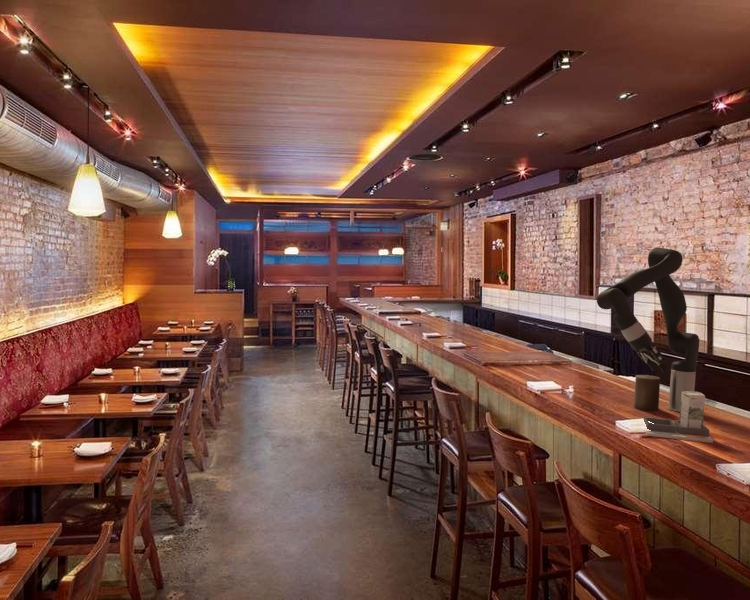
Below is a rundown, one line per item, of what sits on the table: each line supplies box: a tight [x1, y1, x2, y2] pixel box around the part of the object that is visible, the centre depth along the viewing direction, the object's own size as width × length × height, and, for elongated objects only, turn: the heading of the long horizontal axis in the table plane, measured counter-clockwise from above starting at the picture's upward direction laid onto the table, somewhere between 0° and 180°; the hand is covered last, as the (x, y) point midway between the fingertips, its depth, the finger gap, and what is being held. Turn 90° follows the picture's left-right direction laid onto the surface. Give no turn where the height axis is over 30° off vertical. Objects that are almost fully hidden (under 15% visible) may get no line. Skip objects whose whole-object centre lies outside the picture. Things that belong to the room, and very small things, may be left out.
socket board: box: [642, 416, 714, 444], centre depth 214 cm, size 14×21×4 cm, turn 73°
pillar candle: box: [633, 373, 661, 412], centre depth 250 cm, size 10×10×15 cm
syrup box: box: [678, 391, 706, 429], centre depth 213 cm, size 6×6×14 cm
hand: (661, 370), depth 219 cm, fingers open, 8 cm apart
